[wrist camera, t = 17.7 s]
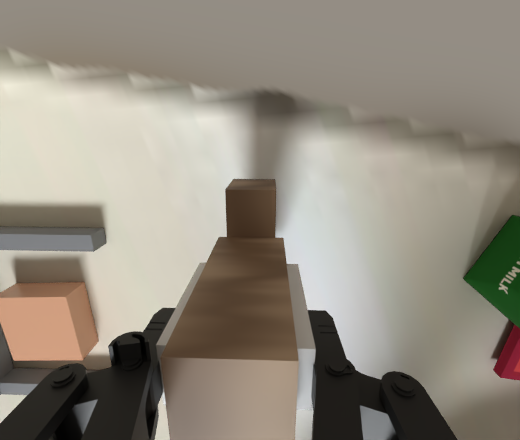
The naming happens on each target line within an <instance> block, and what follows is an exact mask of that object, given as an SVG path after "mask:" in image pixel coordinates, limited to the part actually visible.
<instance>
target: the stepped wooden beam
mask: <svg viewBox="0 0 520 440" xmlns="http://www.w3.org/2000/svg"><path fill="white" fill-rule="evenodd" d="M226 221H227V237H219V238H218V240H217V242H216V244H215V246H214V248H213V250H212V252H211V254H210V256H209V258H208V261H207V263H206V265H205V267H204V269H203V271H202V273H201V275H200V277H199V279H198V281H197V283H196V285H195V287H194V289H193V291H192V293H191V295H190V297H189V299H188V301H187V303H186V306H185V308H184V310H183V312H182V314H181V316H180V318H179V320H178V322H177V324H176V326H175V328H174V330H173V332H172V334H171V336H170V338H169V340H168V342H167V344H166V346H165V348H164V351H163V353H162V355H161V357H160V360H161V368H162V376H163V385H164V393H165V401H166V409H167V418H168V426H169V434H170V440H295V425H296V406H297V387H298V368H299V358H298V350H297V343H296V335H295V327H294V319H293V311H292V303H291V295H290V287H289V279H288V272H287V264H286V256H285V248H284V240H283V238H275V221H276V184H275V179H233V181H232V182H231V183H230V184H229V186H228V187H227V188H226Z"/></svg>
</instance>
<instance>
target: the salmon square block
mask: <svg viewBox="0 0 520 440" xmlns="http://www.w3.org/2000/svg"><path fill="white" fill-rule="evenodd" d="M0 323H1V326H2V329H3V332H4V335H5V337H6V340H7V343H8V346H9V349H10V352H11V354H12V357H13V360H14V361H27V360H83V359H84V358H85V357H86V356H87V355H88V353H89V352H90V351H91V350H92V349H93V347H94V346H95V345H96V344H97V342H98V337H97V332H96V328H95V324H94V320H93V316H92V312H91V307H90V303H89V299H88V295H87V291H86V286H85V282H63V283H16V284H15V285H13V286H11V287H9V288H8V289H6V290H4V291H3V292H1V293H0Z"/></svg>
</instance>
